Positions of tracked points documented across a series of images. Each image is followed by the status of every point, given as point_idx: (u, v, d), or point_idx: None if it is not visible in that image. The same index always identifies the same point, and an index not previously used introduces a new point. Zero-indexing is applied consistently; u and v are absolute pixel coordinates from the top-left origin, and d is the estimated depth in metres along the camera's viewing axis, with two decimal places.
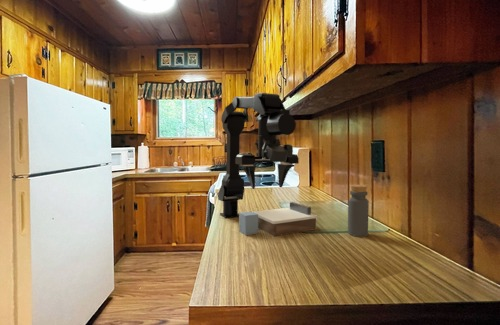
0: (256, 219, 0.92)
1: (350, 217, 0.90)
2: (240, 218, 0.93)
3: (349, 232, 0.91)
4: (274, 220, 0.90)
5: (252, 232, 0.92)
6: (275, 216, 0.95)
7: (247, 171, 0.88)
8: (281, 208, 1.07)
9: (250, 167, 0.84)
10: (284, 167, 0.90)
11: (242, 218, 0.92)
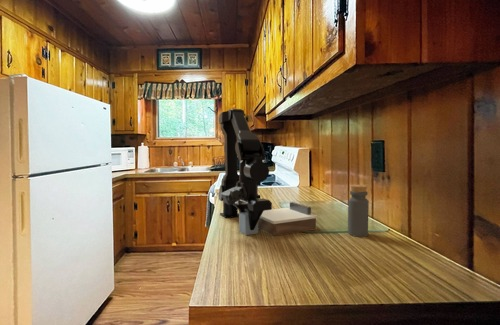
0: None
1: (350, 217, 0.90)
2: (240, 218, 0.93)
3: (349, 232, 0.91)
4: (274, 220, 0.90)
5: (252, 232, 0.92)
6: (275, 216, 0.95)
7: None
8: (281, 208, 1.07)
9: (234, 205, 0.96)
10: None
11: (242, 218, 0.92)
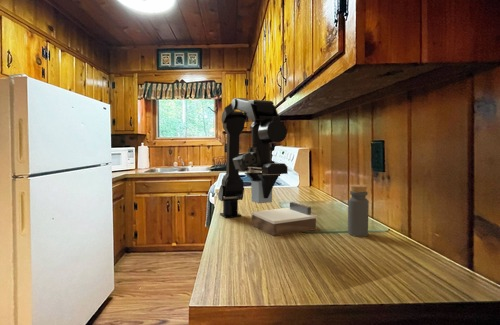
0: None
1: (350, 217, 0.90)
2: (253, 186, 0.87)
3: (349, 232, 0.91)
4: (274, 220, 0.90)
5: (266, 200, 0.85)
6: (275, 216, 0.95)
7: None
8: (281, 208, 1.07)
9: (246, 174, 0.90)
10: None
11: (255, 185, 0.86)
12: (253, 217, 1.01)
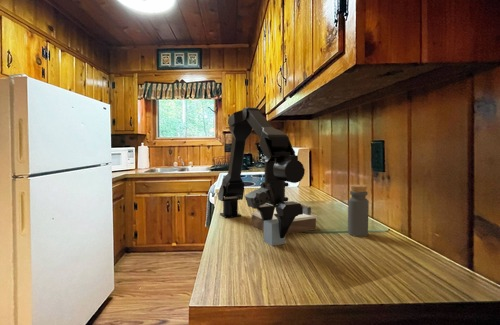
0: None
1: (350, 217, 0.90)
2: (265, 227, 0.84)
3: (349, 232, 0.91)
4: None
5: (279, 242, 0.82)
6: (275, 216, 0.95)
7: None
8: None
9: (255, 207, 0.87)
10: None
11: (268, 226, 0.82)
12: (253, 217, 1.01)
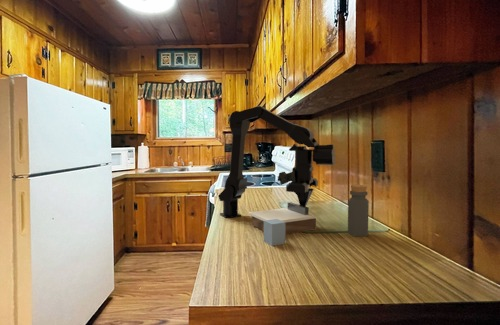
0: (283, 228, 0.82)
1: (350, 217, 0.90)
2: (265, 226, 0.84)
3: (349, 232, 0.91)
4: None
5: (279, 242, 0.82)
6: (272, 216, 0.95)
7: None
8: None
9: None
10: None
11: (268, 226, 0.82)
12: (253, 217, 1.01)
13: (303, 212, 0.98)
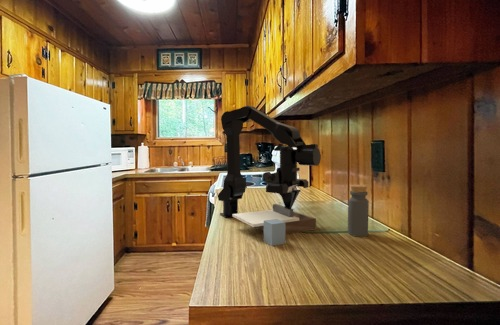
0: (283, 228, 0.82)
1: (350, 217, 0.90)
2: (265, 226, 0.84)
3: (349, 232, 0.91)
4: (253, 223, 0.87)
5: (279, 242, 0.82)
6: (256, 218, 0.92)
7: None
8: (264, 210, 1.04)
9: None
10: None
11: (268, 226, 0.82)
12: None
13: (288, 214, 0.95)
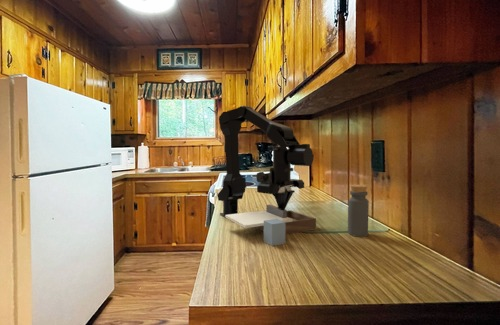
0: (283, 228, 0.82)
1: (350, 217, 0.90)
2: (265, 226, 0.84)
3: (349, 232, 0.91)
4: (246, 224, 0.86)
5: (279, 242, 0.82)
6: (248, 219, 0.91)
7: None
8: (258, 211, 1.03)
9: None
10: None
11: (268, 226, 0.82)
12: None
13: (281, 215, 0.94)
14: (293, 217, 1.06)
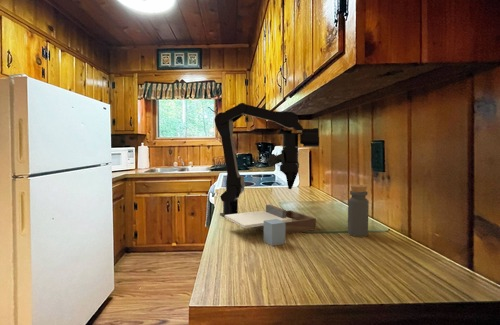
0: (283, 228, 0.82)
1: (350, 217, 0.90)
2: (265, 226, 0.84)
3: (349, 232, 0.91)
4: (245, 224, 0.86)
5: (279, 242, 0.82)
6: (248, 220, 0.91)
7: None
8: (257, 211, 1.03)
9: None
10: None
11: (268, 226, 0.82)
12: None
13: (280, 215, 0.94)
14: (293, 217, 1.06)
